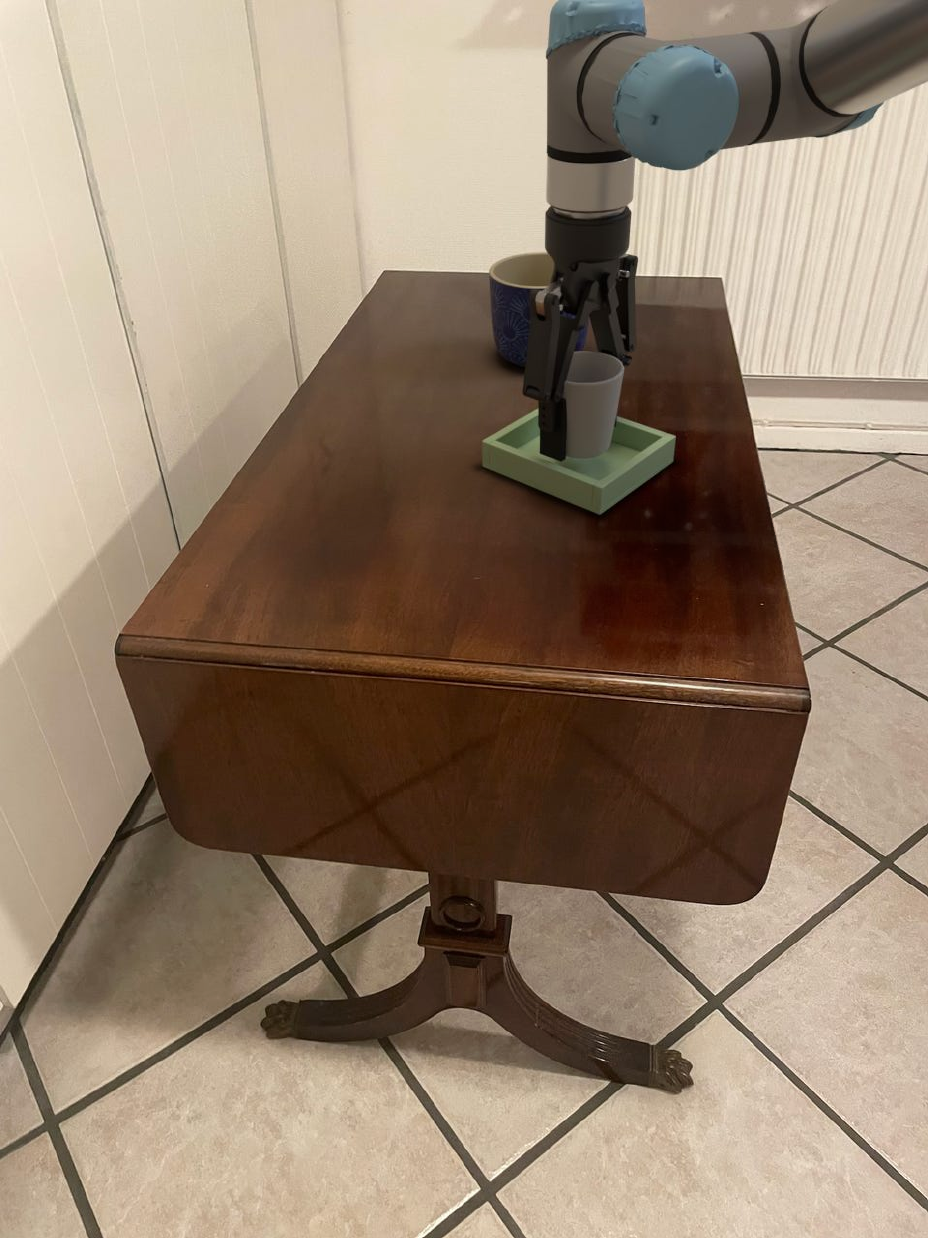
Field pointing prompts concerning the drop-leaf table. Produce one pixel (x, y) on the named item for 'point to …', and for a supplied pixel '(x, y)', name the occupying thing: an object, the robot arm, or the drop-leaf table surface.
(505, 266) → the planter
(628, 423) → the tray
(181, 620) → the drop-leaf table surface
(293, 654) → the drop-leaf table surface
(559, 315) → the robot arm
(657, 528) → the drop-leaf table surface
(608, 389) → the cup
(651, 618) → the drop-leaf table surface
